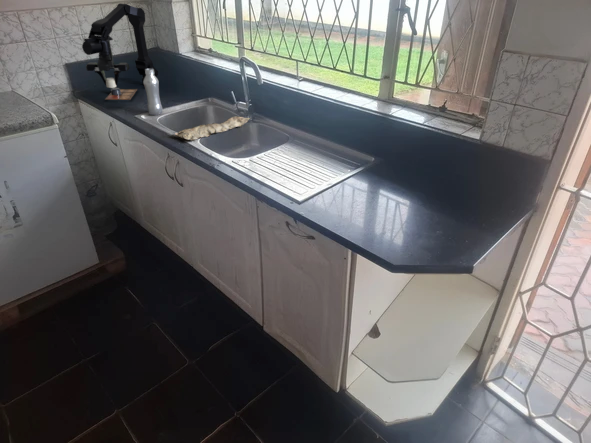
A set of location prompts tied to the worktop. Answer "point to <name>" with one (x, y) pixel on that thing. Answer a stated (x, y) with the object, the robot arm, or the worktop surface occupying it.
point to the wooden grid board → (122, 95)
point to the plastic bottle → (152, 92)
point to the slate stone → (115, 91)
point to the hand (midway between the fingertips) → (111, 84)
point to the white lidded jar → (110, 83)
